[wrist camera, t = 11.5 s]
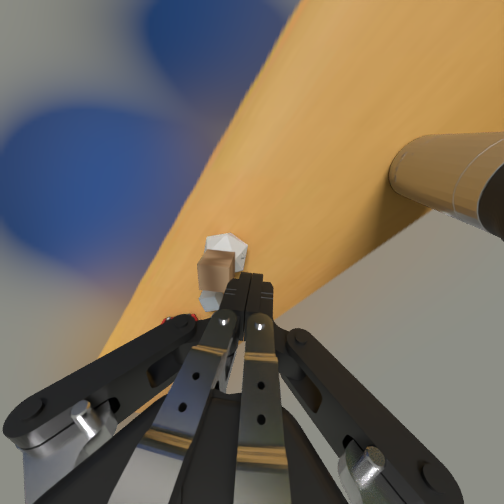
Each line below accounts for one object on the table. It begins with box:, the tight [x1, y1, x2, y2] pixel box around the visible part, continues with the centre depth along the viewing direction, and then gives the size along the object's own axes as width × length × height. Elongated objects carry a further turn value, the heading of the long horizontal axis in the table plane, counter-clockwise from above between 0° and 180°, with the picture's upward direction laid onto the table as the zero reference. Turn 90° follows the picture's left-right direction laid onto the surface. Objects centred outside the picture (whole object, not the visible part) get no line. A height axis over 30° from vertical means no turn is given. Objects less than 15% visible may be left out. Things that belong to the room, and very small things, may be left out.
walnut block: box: [197, 249, 235, 293], centre depth 34 cm, size 5×5×5 cm
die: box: [204, 233, 248, 272], centre depth 40 cm, size 8×9×10 cm
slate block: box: [199, 290, 223, 312], centre depth 49 cm, size 4×4×4 cm
